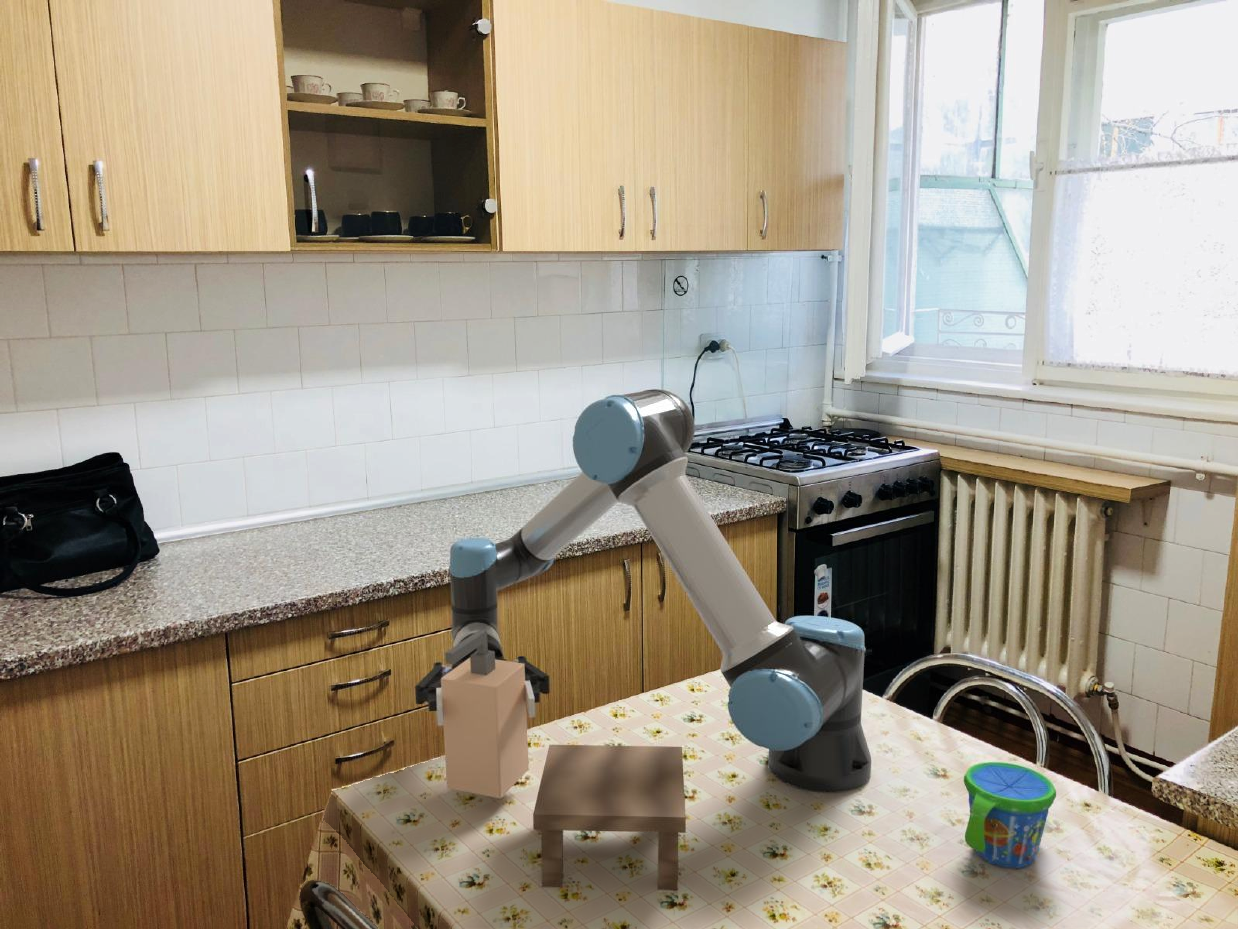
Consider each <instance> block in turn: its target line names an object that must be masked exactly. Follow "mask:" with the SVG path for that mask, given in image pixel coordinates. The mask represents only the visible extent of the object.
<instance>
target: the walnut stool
mask: <svg viewBox="0 0 1238 929" xmlns="http://www.w3.org/2000/svg"><path fill="white" fill-rule="evenodd" d="M544 762H545V763H544V766H543V771H542V774H541V779H540V784H539V788H538V792H537V796H536V800H535V801H536V802H535V804H534V805H535V806H534V809H533V813H532V817H533V818H532V822H533V824H532V825H533V826H532V828H533V829H532V830H534V831H540V847H541V848H540V849H541V850H540V851H541V853H540V854H541V857H540V858H541V888H559V889H560V888H562V887H563V882H564V877H565V875H564V874H565V872H564V831H570V832H571V831H572V832H573V831H576V832H577V831H578V832H585V831H586V832H619V833H620V832H626V833H627V832H629V833H631V832H632V833H634V832H635V833H657V837H658V838H657V839H658V840H657V854H658V855H657V890H661V891H679V834H680V833H682V834H686V833H687V832H686V831H687V830H686V829H687V827H686V825H687V824H686V822H687V821H686V820H687V819H686V818H687V816H686V799H685V798H686V796H685V795H686V794H685V780H684V779H685V778H684V777H685V776H684V760H683V746H662V745H661V746H660V745H659V746H658V745H657V746H656V745H654V746H653V745H650V746H649V745H605V744H603V745H598V744H597V745H595V744H592V745H591V744H589V745H588V744H586V745H585V744H549V745H548V748H547V754H546V758H545V761H544Z"/></svg>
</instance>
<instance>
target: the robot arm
mask: <svg viewBox="0 0 1238 929" xmlns="http://www.w3.org/2000/svg"><path fill="white" fill-rule="evenodd" d="M695 426H696V424H695V420H694V416H693V413H692V411H691V409H690V407H689V406H688V404H687V403H686V402H685V400H683V399H682V398H681V397H680V396H678V395H677V394H675V393H673V392H671V391H668V390H666V389H665V390H664V389H658V388H656V389H655V388H653V389H647V390H642V391H638V392H632V393H625V394H612V395H609V396H608V395H607V396H606V397H604V398H602V399H599V400H596V401H594V402H592V403H591V404H589V405H588V406H587V407H586V408H584V410H583V411H582V412H581V413H580V415H579V417H578V418H577V420H576V422H575V425H574V432H573V436H572V450H573V455H574V458H575V460H576V463H577V465H578V467H579V468H580V469H581V470H580V471H581V472H580V473H579V474H578V475H577V476H576V477H575V478H574V479H573V480H572V481H571V482H570V483H568V485H567V486H565V487H564V488H563V489H562V490H561V491H560V492H559V493H558V494H557V495H556V496H554V497H553V498H552V500H550V501H549V502H548V503H547V504H546V505H544V506H543V508H542V509H540V510H539V512H537V513H536V514H535V515H534V516H533V517H532V518H531V519H530V520H529V521H528V522H526V523H525V524H524V525H523V526H522V527H521V528H520V529H519V530H518V531H517V532H515V534H513V535H512V536H511V537H510V538H507V539H506V540H503V541H500V542H497V543H495V542H494V541H493V540H491V539H488V538H486V537H485V538H483V537H469V538H463V539H459V540H457V541H455V542H454V543H452V545H451V546H450V549H449V553H450V554H449V567H448V570H449V576H450V577H449V578H450V597H451V598H450V599H451V623H450V624H451V625H450V626H451V631H450V632H451V638H452V642H453V647H455V646H456V645H458V644H459V643H461V642H462V641H464V640H465V639H467V638H468V637H470V636H471V635H473V634H474V633H476V632H477V631H478V630H487V643H488V650H489V651H494V652H495V659H496V660H503V661H508V660H507V659H506V658H505V657H504V652H503V647H502V643H501V640H500V633H499V620H498V619H499V616H498V614H499V613H498V591H500V590H502V589H505V588H506V587H510V586H512V585H514V584H517V583H520V582H523V581H525V580H527V579H529V578H530V579H531V578H534V577H537V576H539V575H541V573H544V572H545V571H547V570H549V569H550V568H551V566H552V565H553V564H554V560H555V557H556V556H557V555H558V554H559V553H561V552H562V551H563V550H565V549H566V548H567V547H568V546H569V545H570V544H571V543H572V542H574V540H575V541H576V539H577V538H578V537H580V535H582V534H583V533H584V532H585V531H586V530H587V529H588V528H590V527H591V526H592V525H593V524H594V523H595V522H597V521H598V520H599V519H600V518H601V517H603V516H604V515H605V514H606V513H608V511H609V510H610V509H612V508H613V507H614V506H615V505H616V504H618V503H620V504H624V505H629V506H632V507H633V508H634V510H635V511H636V513H637V514H638V516H639V518H640V519H641V521H642V523H643V525H644V526H645V528H646V529H647V531H648V533H649V535H650V536H651V538H652V539H653V541H654V542H655V544H656V545H657V547H658V549H659V550H660V552H661V554H662V555H663V558H665V561H666V562H667V563H668V566H669V567H670V569H671V571H672V572H673V573H674V574H673V575H675V577H676V579H677V581H678V582H679V583H680V586H682V589H683V590H684V592H685V594H686V595H687V597H688V599H689V600H690V602H691V603H692V605H693V607H694V608H695V610H696V612H697V613H698V614H699V617H700V618H701V620H702V622H703V623H704V625H705V626H706V628H707V630H708V632H709V633H710V634H711V636H712V638H713V640H714V641H715V643H716V644H717V646H718V647H719V649H720V651H721V653H722V654H721V655H722V659H721V664H720V668H719V670H720V673H721V674H722V676H723V677H724V680H725V681H726V683H727V684H728V685H729V691H728V695H727V696H728V701H727V710H728V713H729V717H730V720H731V721H732V724H733V725H734V727H735V728H736V729H737V731H738V732H739V733H740V735H742V736H743V737H744V738H745V739H747V740H748V741H749V742H750V743H752V744H754V745H755V746H758V747H760V748H761V747H762V748H765V749H767V750H768V760H767V762H768V763H767V766H768V769H769V771H770V772H771V773H772V774H773V776H774V777H776V778H777V779H778V780H779V781H782V783H785V784H787V785H790V786H791V787H795V788H798V789H802V790H806V791H809V792H817V793H841V792H842V793H843V792H847V791H852V790H855V789H859V788H860V787H862V786H864V785H865V784H866V783H867V782H868V781H869V780H870V778H871V776H872V756H871V752H870V749H869V746H868V742H867V739H866V736H865V732H864V729H863V726H862V706H863V704H862V703H863V690H864V689H863V687H864V686H863V684H864V667H865V665H864V664H865V652H866V650H867V648H866V646H865V633H864V631H863V629H862V628H861V627H860V626H858V625H857V624H855V623H854V622H851V621H848V620H845V619H841V618H835V617H828V616H820V615H796V616H792V617H790V618H788V619H786V621H785V622H784V623H781V622H778V621H777V620H776V619H775V617H774V616H773V613H772V612H771V611H770V608H769V607H768V606H767V604H766V602H765V601H764V599H763V597H762V596H761V595H760V594H759V592H758V590H757V588H756V587H755V585H754V583H753V582H752V581H751V578H750V577H749V576H748V574H747V572H746V571H745V570H744V567H743V565H741V562H740V561H739V559H738V557H737V556H736V554H735V553H734V551H733V550H732V548H731V547H730V545H729V543H728V541H727V540H726V539H725V537H724V535H723V534H722V532H721V530H720V528H719V527H718V525H717V524H716V522H715V520H714V519H713V518H712V516H711V514H710V513H709V511H708V510H707V507H706V506H705V504H704V503H703V501H702V500H701V498H700V496H699V495H698V493H697V492H696V490H695V488H694V486H692V483H691V482H690V481H689V479H688V477H687V476H686V469H687V466H688V461H689V458H688V457H687V455H686V453H687V452H688V451H689V450H690V448H691V446H692V444H693V441H694V437H695V432H696V428H695ZM453 647H452V648H453ZM476 651H477V648H476V649H475V650H473V651H472V652H470V653H469V654H467V655H466V656H465V657H463V658H462V659H460V660H459V661H458V662H456V663H455V664H451V666H446V665H445V664H444V665H443V663H442V662H440V661H436V662H434V663H433V668H432V669H431V670H430V671H429V672H428V673H427V674H426V675H425V676H424V677H423V678H422V679H421V680H420V681H418V682H417V684H415V686H414V693H415V704H416V705H423V704H424V703H426V702H427V703H428V704H427V706H428V711H429V712H436V717H437V718H436V720H437V727H440V726H443V706H442V691H441V678H442V677H443V676H445V675H446V674H448V673H449V672H451V671H452V670H453V669H455V668H456V667H458V666H459V665H460V664H462V663H463V662H465V661H466V660H467V659H469V658H470V656H471V655H472V654H473V653H475V652H476ZM514 662H517V663H524V665H525V692H526V710H527V712H528V713H527V714H528V718H530V719H531V718H536V706H535V705H536V704H535V703H540V702H541V694H542V695H548V694H550V692H551V690H550V689H551V688H550V686H551V685H550V675H548V674H547V673H546V672H544V671H542V670H541V669H539V668H538V667H536V666H535V665H533V664H532V663H531V662H529V661H527V658H526V656H524V655H519V656H518V657H517V659H515V660H514Z"/></svg>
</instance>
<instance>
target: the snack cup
mask: <svg viewBox="0 0 1238 929" xmlns="http://www.w3.org/2000/svg"><path fill="white" fill-rule="evenodd" d="M963 783H964V786H965V789H966V791H967V793H968V804H969V818H968V821H967V822H968V823H967V826H966V830H965V833H964V840H965V843H966V845H968V847H969V848H971V849H972V850H974V851H975V852H976V853H978V855H979V856H980V857H981V858H983V859H984V860H986V862H987V863H988V864H992V865H993V864H994V865H997V866H1000V867H1003V868H1017V869H1024V868H1025V867H1026V866H1030V865H1032V864H1033V863H1034V861H1035V859H1036V858H1037V856H1038V853H1039V849H1040V845H1041V843H1042V842H1041V841H1042V837H1043V835H1044V830H1045V827H1046V823H1047V819H1048V818H1047V817H1048V815H1049V809H1050V808H1051V807H1052V805H1053V804H1054V801H1055V799H1056V798H1057V790H1056V788H1055V785H1054V784H1053V782H1052V781H1051V779H1049V778H1048V777H1047V776H1045V775H1044V774H1042V773H1040V772H1038V771H1036V770H1034V769H1032V768H1028V767H1026V766H1024V765H1019V764H1015V763H1010V762H1002V761H989V762H987V761H986V762H980V763H977V764H974V765H972V766H970V767H969V768H967V771H966V772H965V774H964V775H963Z"/></svg>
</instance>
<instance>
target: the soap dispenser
mask: <svg viewBox="0 0 1238 929" xmlns="http://www.w3.org/2000/svg"><path fill="white" fill-rule="evenodd" d="M476 648H477V651H476V652H475V653H473V654H472V655H471V656H470V658H469V659H467V660H466V661H465V662H463V663H462V664H460V665H459V666H458V667H456V668H455V669H453V670H452V671H451V672H449V673H448V674H446V675H445V676H443V677H442V678H441V691H442V706H443V725H442V726H443V740H444V757H445V771H446V772H445V774H446V776H445V777H446V788H447V789H452V790H457V791H462V792H466V793H471V794H475V795H476V794H477V795H481V796H486V797H487V796H488V797H491V798H495V799H501V798H503V797H504V795H506V794H507V792H508V791H509V790H510V789H512V787H514V786H515V784H516V783H517V782H518V781H520V779H521V778H523V776H524V775H525V774H526V773H527V772H528V771H529V769H530V768H529V747H528V746H529V743H528V722H527V720H528V719H527V717H528V716H527V715H528V714H527V705H526V692H525V665H524V663H517V662H515V661H509V660H507V661H503V660H496V659H495V652H494V651H489V650H488V643H487V630H478V631H477V632H476V633H474V634H473V635H471V636H470V637H468V638H467V639H465V640H464V641H462V642H461V643H459V644H458V645H456V646H455V647H452V648H450V649H449V650H447V651H446V652H445V655H444V656H445V664H449V665H453V664H455V663H456V662H458V661H459V660H460V659H462V658H463V657H465V656H466V655H467V654H469V653H470V652H472V651H473V650H475V649H476Z"/></svg>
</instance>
